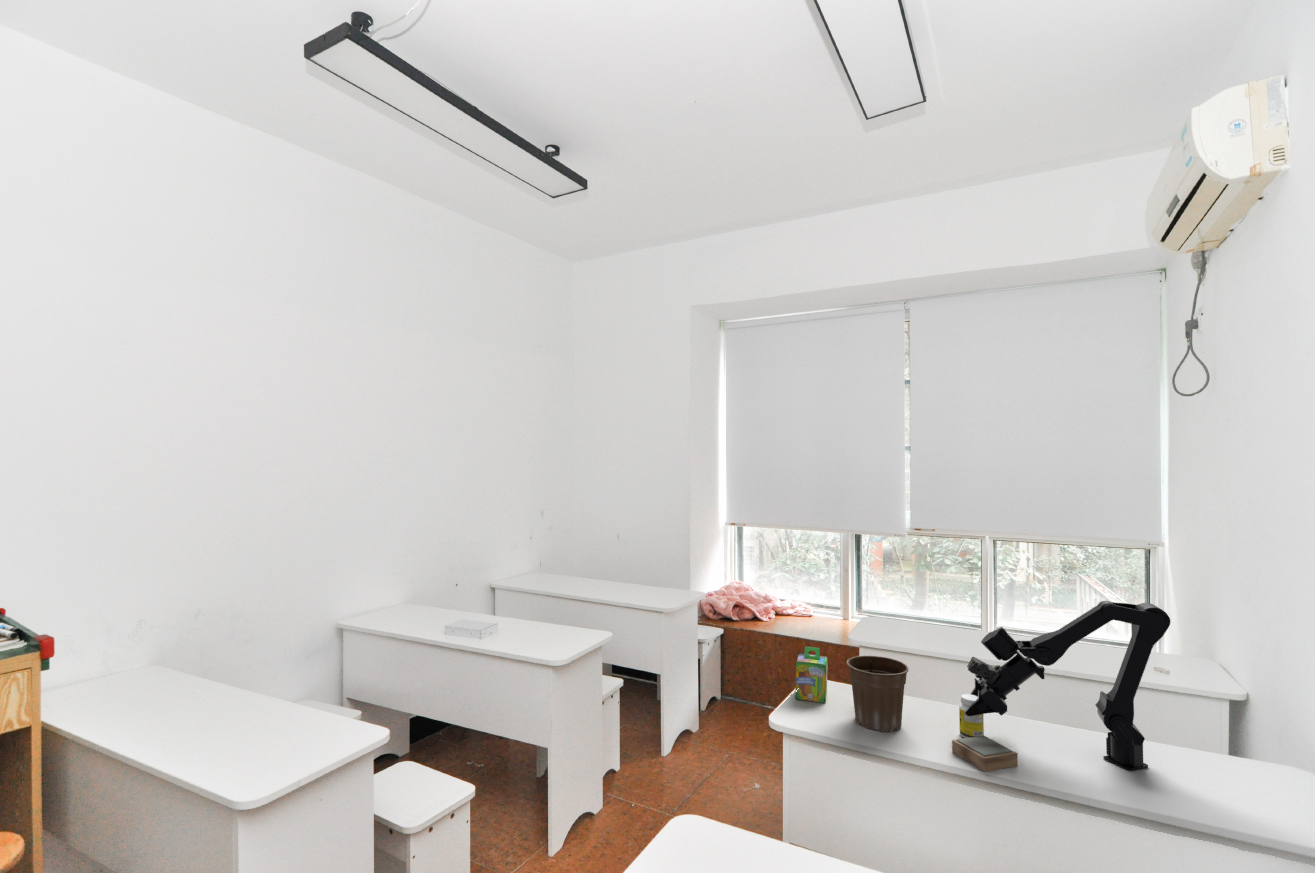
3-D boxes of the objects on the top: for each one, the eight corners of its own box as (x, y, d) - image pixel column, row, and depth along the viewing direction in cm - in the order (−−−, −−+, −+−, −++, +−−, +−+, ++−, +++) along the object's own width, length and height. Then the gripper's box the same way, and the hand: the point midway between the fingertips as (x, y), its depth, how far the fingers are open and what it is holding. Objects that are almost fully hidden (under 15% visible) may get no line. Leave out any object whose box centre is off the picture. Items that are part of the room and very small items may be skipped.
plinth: (1017, 765, 145) (1017, 751, 145) (984, 771, 142) (984, 757, 142) (983, 747, 155) (983, 734, 155) (952, 752, 152) (952, 738, 152)
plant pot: (850, 732, 162) (850, 671, 163) (843, 709, 178) (843, 653, 179) (915, 738, 159) (914, 675, 160) (901, 713, 175) (901, 657, 176)
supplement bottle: (962, 729, 165) (962, 691, 166) (986, 735, 161) (985, 696, 162) (957, 736, 161) (956, 697, 161) (981, 743, 157) (980, 703, 157)
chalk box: (795, 699, 185) (795, 650, 186) (797, 689, 193) (798, 642, 194) (826, 703, 182) (826, 653, 183) (827, 693, 191) (828, 645, 191)
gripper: (983, 640, 169) (940, 674, 173) (991, 659, 152) (943, 696, 156) (1016, 672, 166) (971, 707, 170) (1028, 696, 149) (978, 733, 152)
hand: (965, 710), depth 162 cm, fingers closed on supplement bottle, 6 cm apart
